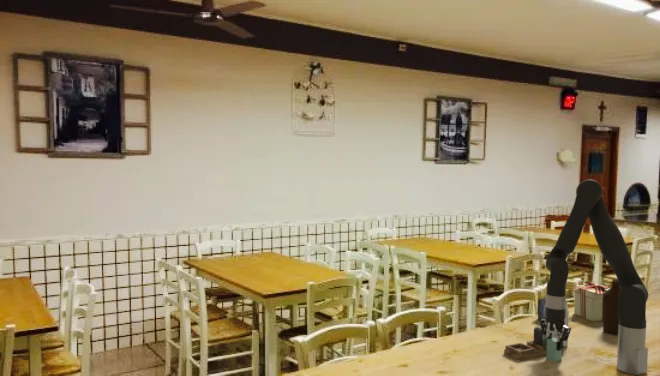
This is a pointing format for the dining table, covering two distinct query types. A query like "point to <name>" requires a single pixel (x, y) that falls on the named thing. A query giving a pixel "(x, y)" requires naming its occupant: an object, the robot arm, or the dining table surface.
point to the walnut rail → (528, 347)
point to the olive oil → (611, 308)
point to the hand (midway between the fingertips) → (554, 348)
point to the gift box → (589, 301)
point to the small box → (541, 308)
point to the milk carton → (565, 343)
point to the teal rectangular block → (553, 350)
